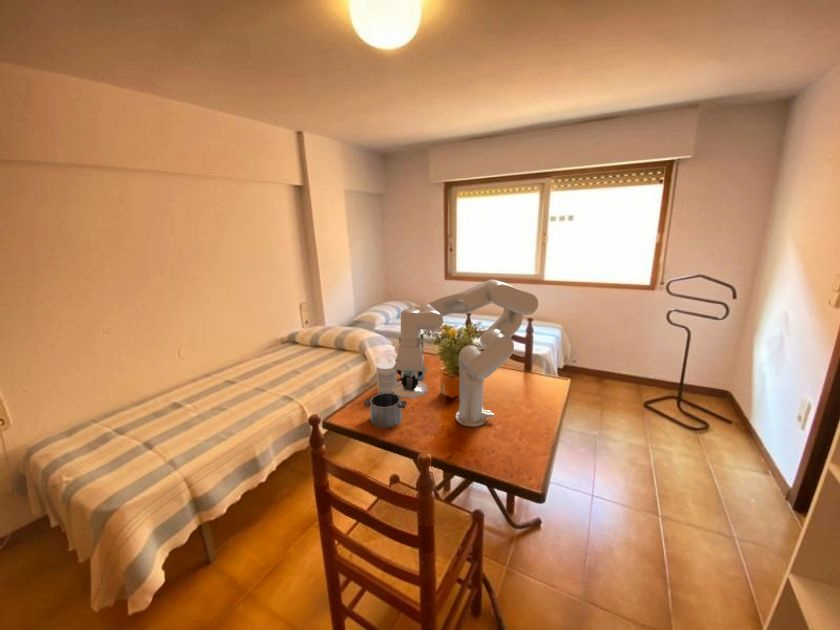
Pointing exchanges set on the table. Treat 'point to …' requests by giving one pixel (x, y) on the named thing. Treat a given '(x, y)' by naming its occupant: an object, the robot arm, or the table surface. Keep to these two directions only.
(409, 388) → the lid
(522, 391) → the table surface
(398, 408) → the stockpot
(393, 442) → the table surface
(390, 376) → the supplement tub
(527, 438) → the table surface
